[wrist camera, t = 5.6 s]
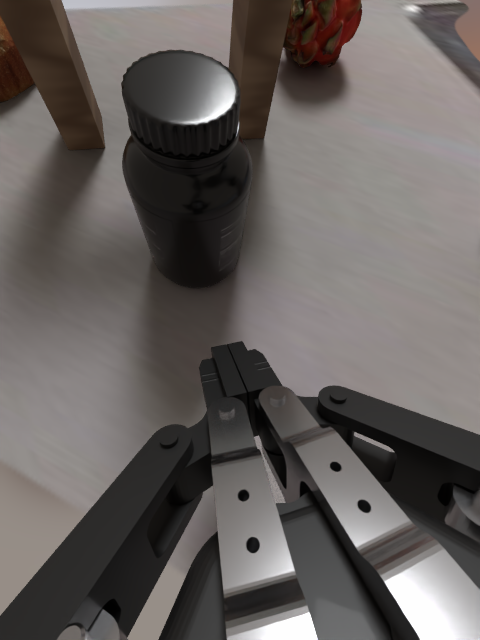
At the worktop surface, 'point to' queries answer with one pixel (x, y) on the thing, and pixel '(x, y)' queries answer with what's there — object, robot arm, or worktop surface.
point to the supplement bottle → (187, 164)
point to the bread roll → (11, 67)
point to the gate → (74, 86)
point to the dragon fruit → (320, 29)
